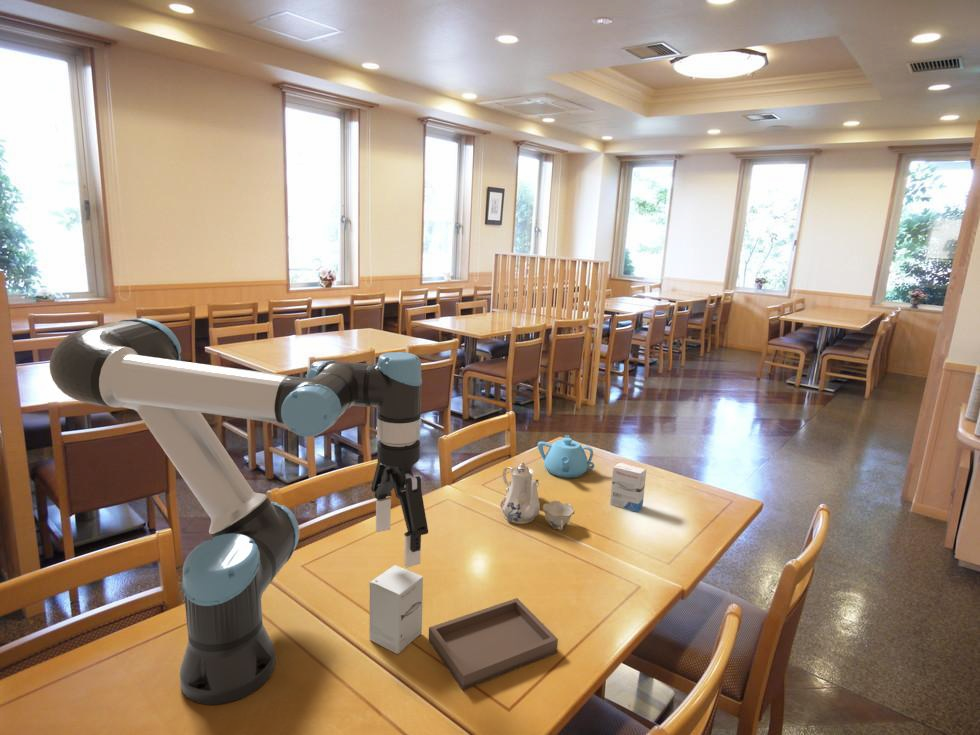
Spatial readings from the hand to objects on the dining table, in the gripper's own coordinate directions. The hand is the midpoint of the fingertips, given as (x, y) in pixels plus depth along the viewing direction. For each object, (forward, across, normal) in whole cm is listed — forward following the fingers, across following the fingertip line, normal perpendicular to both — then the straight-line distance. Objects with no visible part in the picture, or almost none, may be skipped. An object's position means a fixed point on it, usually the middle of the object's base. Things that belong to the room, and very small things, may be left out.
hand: (397, 546), depth 110 cm
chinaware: (+19, +28, -52) cm, 61 cm away
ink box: (+18, +19, -80) cm, 84 cm away
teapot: (+18, +47, -80) cm, 95 cm away
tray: (+18, -12, -14) cm, 26 cm away
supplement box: (+19, -1, 0) cm, 19 cm away
